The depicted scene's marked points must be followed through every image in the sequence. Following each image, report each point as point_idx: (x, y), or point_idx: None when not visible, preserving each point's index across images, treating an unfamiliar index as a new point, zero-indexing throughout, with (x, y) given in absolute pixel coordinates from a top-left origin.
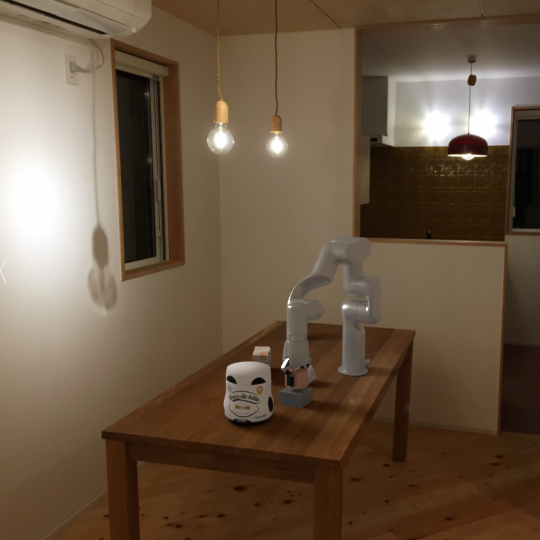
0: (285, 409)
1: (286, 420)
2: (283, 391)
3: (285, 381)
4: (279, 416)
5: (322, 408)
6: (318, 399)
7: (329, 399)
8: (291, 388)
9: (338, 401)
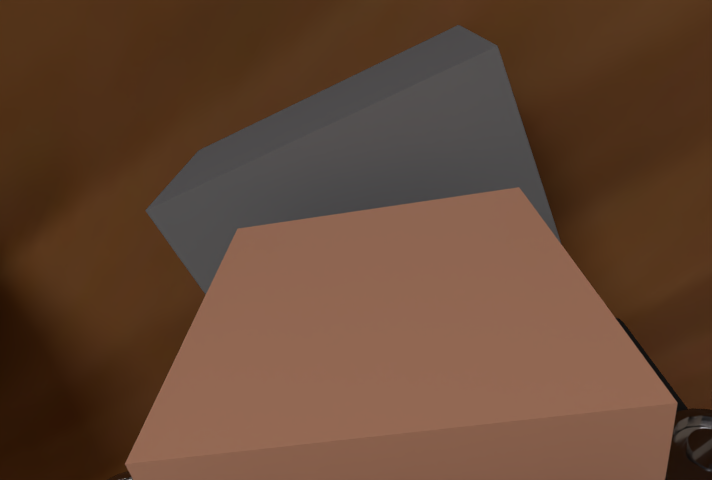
0: (176, 298)
1: (79, 452)
2: (193, 241)
3: (221, 275)
4: (57, 380)
5: None
6: (612, 274)
7: (686, 326)
8: (367, 205)
9: (695, 394)
